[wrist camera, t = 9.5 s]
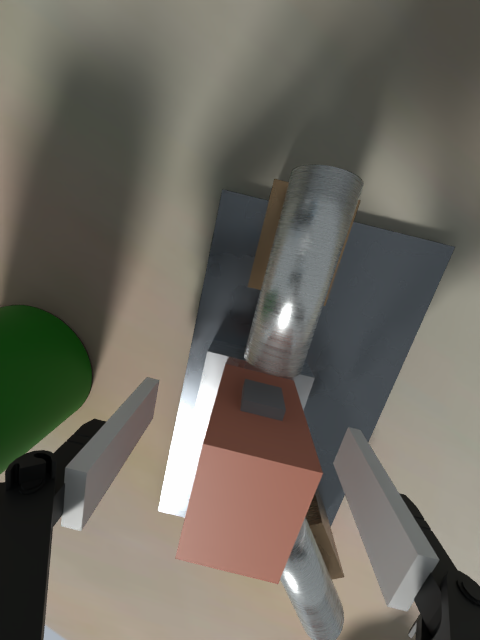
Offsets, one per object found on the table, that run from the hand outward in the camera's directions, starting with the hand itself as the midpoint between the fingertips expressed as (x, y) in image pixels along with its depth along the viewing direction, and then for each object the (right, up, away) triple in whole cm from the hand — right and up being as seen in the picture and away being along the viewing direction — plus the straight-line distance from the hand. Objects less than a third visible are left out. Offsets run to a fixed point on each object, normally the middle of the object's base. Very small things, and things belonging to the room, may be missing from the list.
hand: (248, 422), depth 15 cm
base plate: (+3, 0, +5) cm, 5 cm away
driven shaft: (+4, -7, +6) cm, 10 cm away
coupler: (0, 0, +2) cm, 2 cm away
